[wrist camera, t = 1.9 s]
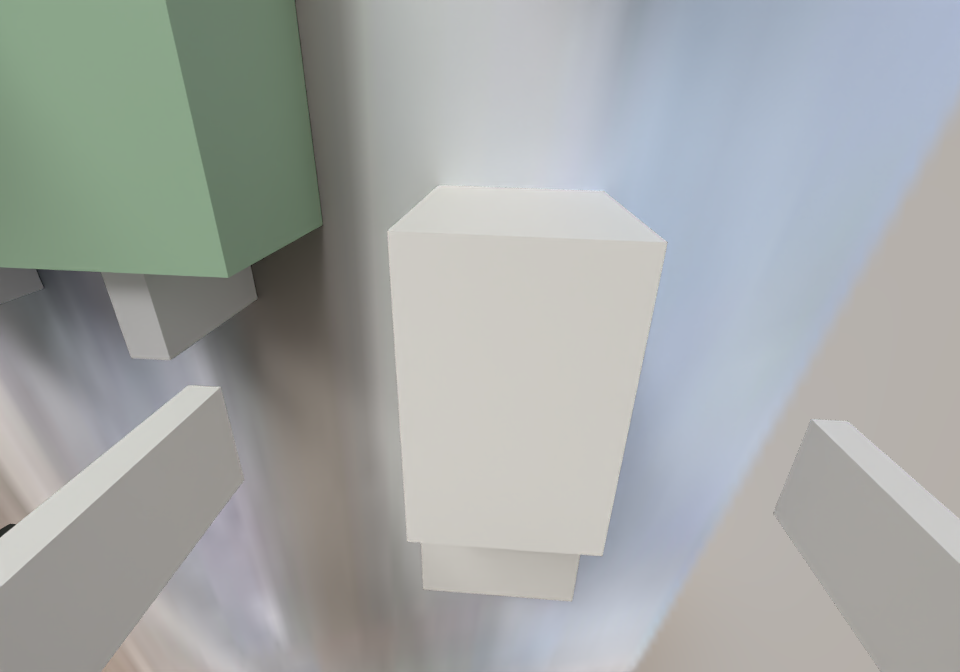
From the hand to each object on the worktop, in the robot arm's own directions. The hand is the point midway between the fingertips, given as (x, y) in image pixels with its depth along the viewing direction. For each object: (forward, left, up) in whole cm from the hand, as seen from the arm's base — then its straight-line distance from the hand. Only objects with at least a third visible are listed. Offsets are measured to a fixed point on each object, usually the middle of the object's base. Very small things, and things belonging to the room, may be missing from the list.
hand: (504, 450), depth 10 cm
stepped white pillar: (0, +4, -8) cm, 9 cm away
